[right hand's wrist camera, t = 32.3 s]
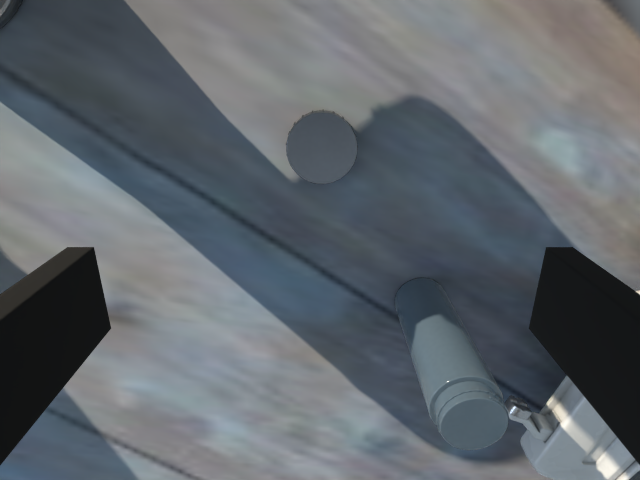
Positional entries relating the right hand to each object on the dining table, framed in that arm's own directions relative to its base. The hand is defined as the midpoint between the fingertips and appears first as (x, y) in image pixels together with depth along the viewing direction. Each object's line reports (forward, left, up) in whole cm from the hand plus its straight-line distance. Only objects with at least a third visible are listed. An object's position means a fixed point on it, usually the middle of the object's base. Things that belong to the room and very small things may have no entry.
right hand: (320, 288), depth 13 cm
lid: (0, 0, -26) cm, 26 cm away
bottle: (+15, +12, -28) cm, 34 cm away
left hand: (+17, +22, -21) cm, 34 cm away
